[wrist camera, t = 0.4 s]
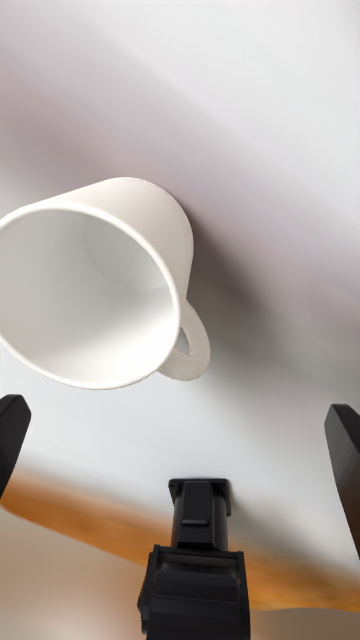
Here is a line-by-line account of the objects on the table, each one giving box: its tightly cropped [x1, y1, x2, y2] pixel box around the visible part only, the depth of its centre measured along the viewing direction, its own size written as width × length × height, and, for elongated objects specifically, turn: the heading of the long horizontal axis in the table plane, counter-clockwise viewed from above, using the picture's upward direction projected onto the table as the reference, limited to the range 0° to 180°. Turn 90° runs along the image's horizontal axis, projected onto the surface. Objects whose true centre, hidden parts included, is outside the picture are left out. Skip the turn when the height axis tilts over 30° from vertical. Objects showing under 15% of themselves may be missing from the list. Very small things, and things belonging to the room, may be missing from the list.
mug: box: [0, 177, 211, 390], centre depth 17 cm, size 12×8×10 cm
